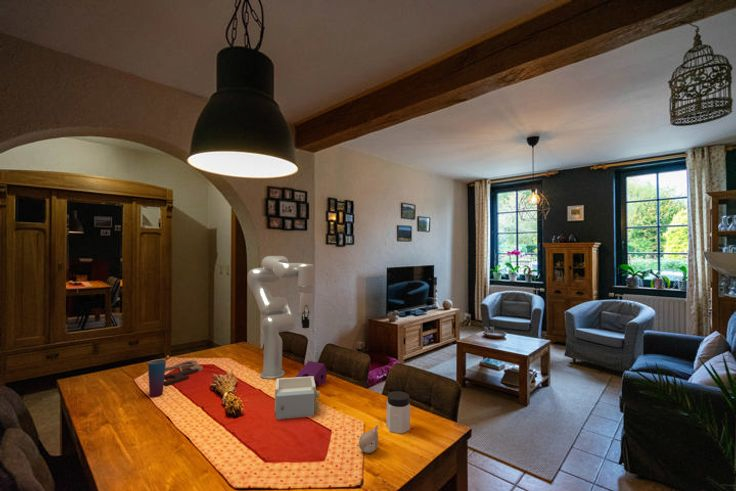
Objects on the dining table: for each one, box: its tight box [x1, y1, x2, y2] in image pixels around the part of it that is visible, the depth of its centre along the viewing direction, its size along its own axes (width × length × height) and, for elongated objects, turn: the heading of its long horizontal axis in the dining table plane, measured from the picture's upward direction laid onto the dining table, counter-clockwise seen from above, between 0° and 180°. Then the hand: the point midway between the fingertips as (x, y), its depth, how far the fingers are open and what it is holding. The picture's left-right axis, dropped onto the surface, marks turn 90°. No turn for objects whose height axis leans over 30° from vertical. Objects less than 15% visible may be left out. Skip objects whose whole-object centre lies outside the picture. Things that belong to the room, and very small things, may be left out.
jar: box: [386, 390, 411, 435], centre depth 126 cm, size 9×8×12 cm
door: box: [275, 390, 315, 420], centre depth 134 cm, size 4×15×9 cm, turn 103°
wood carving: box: [147, 360, 203, 387], centre depth 180 cm, size 28×2×24 cm
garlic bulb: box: [358, 424, 379, 454], centre depth 111 cm, size 7×6×8 cm
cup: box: [147, 358, 167, 398], centre depth 152 cm, size 7×7×15 cm
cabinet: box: [274, 376, 321, 416], centre depth 142 cm, size 14×18×10 cm
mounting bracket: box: [295, 360, 328, 386], centre depth 165 cm, size 10×9×19 cm
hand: (305, 325), depth 160 cm, fingers open, 9 cm apart
